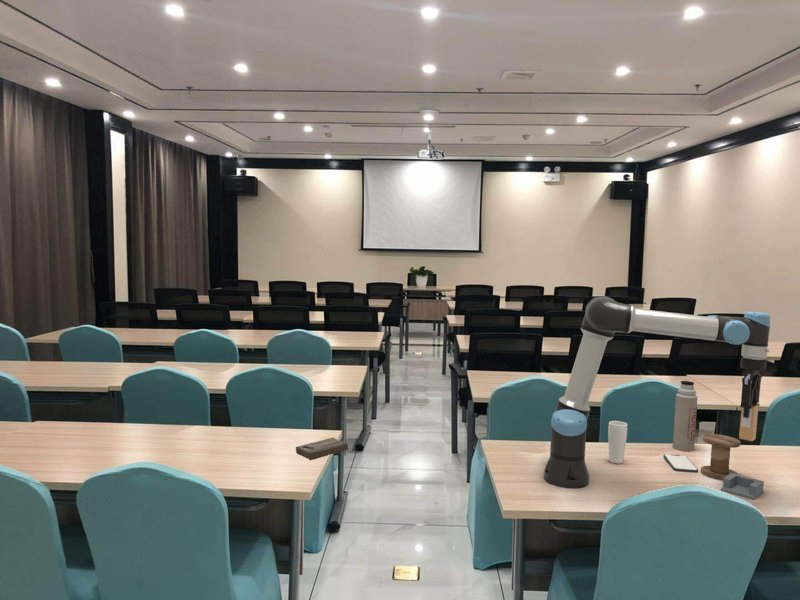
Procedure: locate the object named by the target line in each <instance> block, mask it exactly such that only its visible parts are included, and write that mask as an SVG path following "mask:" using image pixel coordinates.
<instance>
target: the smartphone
mask: <svg viewBox="0 0 800 600" xmlns="http://www.w3.org/2000/svg"><path fill="white" fill-rule="evenodd" d="M662 458H663V459H664V461H665V462H666V463H667V464H668V466H669V467H670V468H671V469H672V470H673V471H675V472H683V473H693V474H694V473H695V474H698V473H699V469H698V468H697V467H696V465H695V464H693V462H692V461H691V460H690V459H689V458H688V457H687V455H686V456H685V455H679V454H669V453H668V454H666V453H665V454H663V457H662Z"/></svg>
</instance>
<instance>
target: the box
mask: <svg viewBox="0 0 800 600" xmlns="http://www.w3.org/2000/svg"><path fill="white" fill-rule="evenodd" d="M348 445H349V444H348V443H347V442H344V441H342V440H340V439H336V438H334V437H331V438H326V439H321V440H318V441H314V442H313V441H312V442H310V443H305V444H302V445H299V446H296V447H295V452H296V454H297V455H299V456H301V457H303V458H305V459H308V460H309V461H313V460H314V461H315V460H317V459H320V458H323V457H327V456H330V455H333V454H338V453H341V452H344V451H349V446H348Z"/></svg>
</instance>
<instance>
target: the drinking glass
mask: <svg viewBox="0 0 800 600" xmlns="http://www.w3.org/2000/svg"><path fill="white" fill-rule="evenodd" d="M607 431H608V432H607V437H608V439H607V441H608V461H609V462H610V463H612V464H617V465H619V464H620V465H621V464H623V463H624V461H625V459H624V457H625V451H626V443H627V438H628V437H627V436H628V423H627V422H624V421H620V420H611V421H609V422H608V430H607Z"/></svg>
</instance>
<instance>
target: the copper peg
mask: <svg viewBox="0 0 800 600" xmlns="http://www.w3.org/2000/svg"><path fill="white" fill-rule="evenodd" d="M758 404H759V403H757V404H753V403H752V407H751V408H752V418H751V428H748V427H744V426H741V422H742V410H743V407H740V408H741V411H740V423H739V432H738V433H739V434H738V440H744V441H748V442H753V441H755V440H756V438H757V427H758V426H757V425H758V418H759V417H758V415H759V407H760V405H758Z"/></svg>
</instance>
